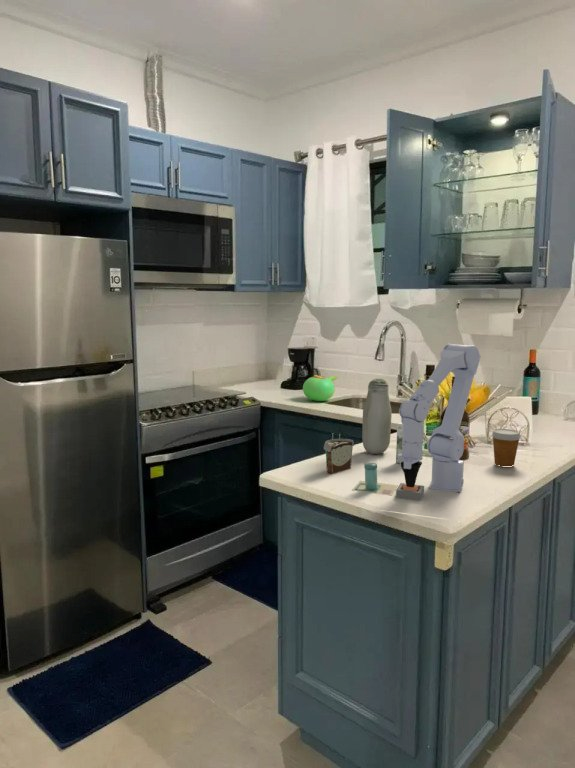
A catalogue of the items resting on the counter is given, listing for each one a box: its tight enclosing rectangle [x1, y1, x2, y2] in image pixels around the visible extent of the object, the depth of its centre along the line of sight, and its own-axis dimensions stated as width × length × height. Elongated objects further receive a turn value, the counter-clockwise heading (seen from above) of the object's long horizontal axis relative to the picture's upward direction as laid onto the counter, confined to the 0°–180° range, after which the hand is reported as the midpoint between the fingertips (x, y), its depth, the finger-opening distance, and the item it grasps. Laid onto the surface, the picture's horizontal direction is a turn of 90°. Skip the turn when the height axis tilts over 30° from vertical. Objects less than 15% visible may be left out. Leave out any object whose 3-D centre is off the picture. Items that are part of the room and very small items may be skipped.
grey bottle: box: [361, 378, 393, 455], centre depth 220 cm, size 10×10×28 cm
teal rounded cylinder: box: [364, 462, 378, 490], centre depth 179 cm, size 4×4×8 cm
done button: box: [403, 483, 418, 492], centre depth 174 cm, size 4×4×2 cm
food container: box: [323, 438, 355, 475], centre depth 199 cm, size 12×6×10 cm, turn 134°
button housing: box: [395, 482, 425, 502], centre depth 174 cm, size 7×7×3 cm
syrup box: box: [395, 421, 403, 465], centre depth 208 cm, size 6×6×14 cm
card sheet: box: [352, 480, 399, 496], centre depth 181 cm, size 12×10×1 cm
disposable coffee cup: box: [491, 428, 522, 466], centre depth 207 cm, size 10×10×12 cm
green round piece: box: [302, 374, 339, 402], centre depth 330 cm, size 18×17×15 cm
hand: (410, 486), depth 174 cm, fingers closed, pressing on done button
